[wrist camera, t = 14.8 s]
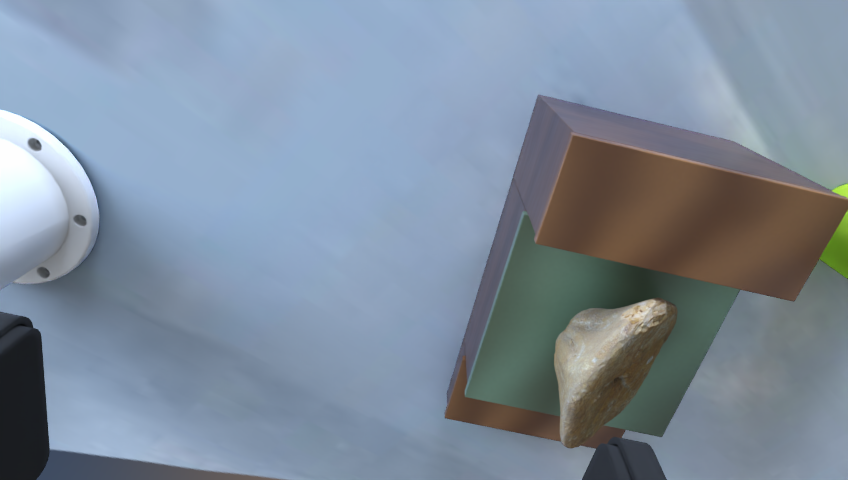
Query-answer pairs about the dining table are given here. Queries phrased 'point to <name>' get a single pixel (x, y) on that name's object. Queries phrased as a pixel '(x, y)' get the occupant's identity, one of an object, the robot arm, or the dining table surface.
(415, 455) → the dining table surface
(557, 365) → the fossil
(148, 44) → the dining table surface
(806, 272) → the step shelf
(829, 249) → the soap dispenser
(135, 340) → the dining table surface
